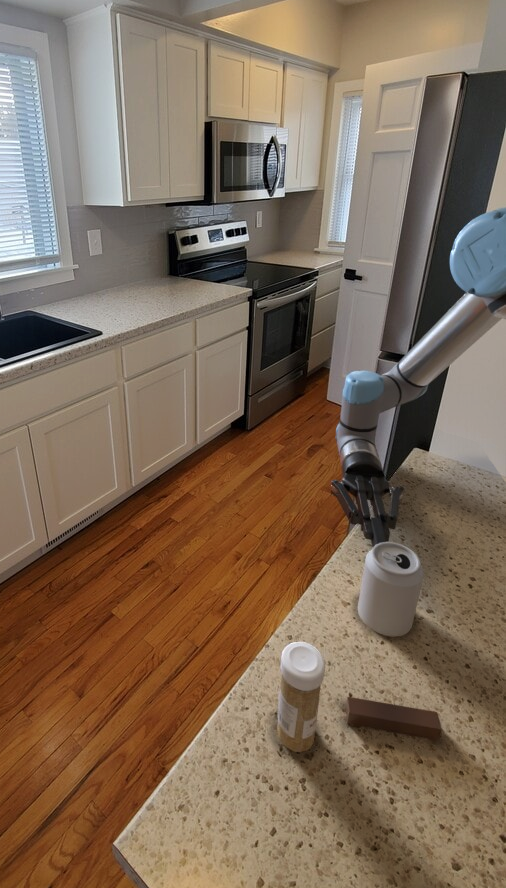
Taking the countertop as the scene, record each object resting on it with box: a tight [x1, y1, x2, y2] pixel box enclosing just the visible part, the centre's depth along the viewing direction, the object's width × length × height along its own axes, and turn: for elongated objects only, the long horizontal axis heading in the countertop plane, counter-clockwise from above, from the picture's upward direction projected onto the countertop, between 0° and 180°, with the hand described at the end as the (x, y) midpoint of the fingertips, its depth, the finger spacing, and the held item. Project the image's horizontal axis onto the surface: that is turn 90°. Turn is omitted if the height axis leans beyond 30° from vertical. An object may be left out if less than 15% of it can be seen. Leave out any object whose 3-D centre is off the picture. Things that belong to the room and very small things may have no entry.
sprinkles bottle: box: [276, 641, 326, 753], centre depth 54 cm, size 5×5×14 cm
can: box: [357, 541, 425, 638], centre depth 69 cm, size 8×8×12 cm
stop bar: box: [344, 696, 443, 742], centre depth 57 cm, size 10×2×3 cm, turn 79°
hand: (381, 551), depth 75 cm, fingers closed
